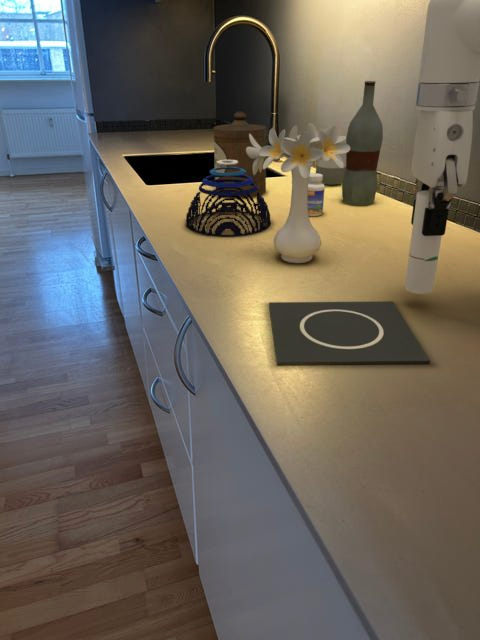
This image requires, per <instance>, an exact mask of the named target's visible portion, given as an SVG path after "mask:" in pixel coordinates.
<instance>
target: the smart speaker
mask: <svg viewBox="0 0 480 640" xmlns="http://www.w3.org/2000/svg"><path fill="white" fill-rule="evenodd" d="M346 137H347V136H346V135H338V139H337V141H336V142H335V143H334V144H336V143H339V142H344V143H346ZM336 155H339V156H340V157H341V158H342V160H343V163H344V167H343V168H340V167H338V166H337V165H336V164H335V162H334V161H333V160H331V159H329V160H328V161H324V160H323V158H322V159H321V160H316V167H315V173H318V174H322V175H323V180H322V181H321V183H323V184H324V186H325V187H338V186H340V185H341V186H342V184H343V179H344V175H345V170H346V153H344V154H336Z"/></svg>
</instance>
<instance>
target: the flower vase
mask: <svg viewBox="0 0 480 640" xmlns="http://www.w3.org/2000/svg"><path fill="white" fill-rule="evenodd" d="M298 129H299V128H298V125H294V126H292V128H291V130H290V132H289V134H288V137H285V136H286V129H285V128H284V129H282V130H281V132H280V133H279V134H278V135H277V132H276V130H275V128H270V130H269V133H268V142H269V144H270V145H266V146H264V147H262V148H261V147H260V146H259V144H258V143H257V142H256V141H255V139H254V138H253V137H252V135H251V134H249V138H250V141H251V144H252V145H253V146H254V147H256V148H254V147H247V148H246V153H247V155H248V156H249V157H250V158H257V159H256V160H255V161H254V163H253V174H254V175H255V174H256V172H257V170H258V168H259V171H260V173H261V170H262V165H263V169H266V170H267V168H268V167H269V166H270V165H271V164H272V163H273V162H275V161H277V160H280V159H282V158H285V160H284V161H282V164H281V166H280V171H281V172H282V173H288V172H290V173H291V196H290V206H289V213H288V216H287V219H286V221H285V223H284V224H283V225H282V226H281V227H280V228H279V229H278V231H277V232H276V233H275V235H274V237H273V246H274V249H275V250H276V251H277V252H278V253H279V254H280V258H281V259H282V261H284V262H287V263H291V264H304V263H308V262H310V261H312V259H313V255H315V254H317V252H319V250H320V249H321V246H322V238H321V236H320V233H319V232H318V230H317V229H316V228H315V226H313V224H312V223H311V222H312V221H311V220H310V216H308V180H309V175H310V173H311V169H312V167H313V166H312V165H314V163H315V162H317V160H321V159H322V158H323V160H324V161H328V160H329V159H331V160H333V161H334V162H335V164H336V165H337V166H338V167H340V168H343V167H344V163H343V160H342V158H341V157H340V156H339V155H336V154H344V153H347V152H349V151H350V146H349V145H348V144H347V143H344V142H339V143H336V144H334V143H335V142H336V141H337V139H338V136H339V128H338V125H335V124H334V125H332V127H327V128H325V129H324V130H317V128H316V126H315V125H314V124H313V123H311V122H310V123H308V124H307V125H306V130H307V131H305V130H304V131H303V132H302V133H301V134H298V131H299V130H298ZM265 157H266V160H265V162H264V164H263V161H264V158H265Z"/></svg>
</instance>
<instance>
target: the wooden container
mask: <svg viewBox="0 0 480 640" xmlns="http://www.w3.org/2000/svg"><path fill="white" fill-rule="evenodd" d="M233 118H234V120H233V121H232V123H231V124H230V123H229V124H220V125H215V126H214V127H213V145H214V146H213V148H214V149H213V150H214V151H213V153H214V155H213V156H214V158H213V159H214V160H213V161H214V163H213V165H214V168H220V167H237V168H242V169H244V170H245V171H246V173H244V175H247V176H250V177H251V178H252V179H253V183H254V184H255V185H256V186H258V190H257V191H256V192H252V193H250V196H251V197H252V198H257V192H258V193H260V194H261V196H263V195H264V194H266V192H267V191H266V190H267V168H266V169H263V165H262V170H261V173H260V171H259V168H258V170H257V172H256V174H255V175H254V174H253V163H254V161H255V160H256V159H257V158H250V157H249V156H248V155H247V153H246V148H247V147H254V146H253V145H252V144H251V141H250V138H249V134H251V135H252V137H253V138H254V139H255V141H256V142H257V143H258V144H259V146H260V147H261V148H262V147H264V146H267V143H266V141H267V139H266V138H267V128H266V127H267V126H265V125H262V124H251V123H248V122H247V121H246V120H245V119H247V115H246V113H244V112H243V111H236V112H235V113H234V114H233ZM254 148H256V147H254ZM266 159H267V156H266V157H265V158H264V161H263V164H264V162H265V160H266ZM219 160H237V161H238V163H237V164H234V165H220V164H217V161H219ZM224 163H231V162H224ZM239 171H240V170H235V169H221V170H216V172H220V173H235V172H239ZM221 179H238V180H245V181H246V180H249V179H247V178H240V177H216V178H214V180H221ZM224 183H234V182H224ZM252 187H254V186H253V185H248V186H242V187H237V188H240V189H244V190H248V189H251V188H252ZM214 188H215V189H214V190H216V189H217V188H220V187H214ZM224 190H237V189H234V188H226V189H224ZM218 191H219V190H218ZM238 191H239V190H238ZM221 193H223V192H221ZM232 193H235V192H232ZM244 195H246V194H244ZM238 196H239V197H240V198H241V199H245V198H244V196H241V195H238ZM246 196H247V195H246ZM227 198H231V197H227ZM247 198H248V199H250V198H249V197H248V196H247Z"/></svg>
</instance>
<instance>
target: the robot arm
mask: <svg viewBox="0 0 480 640" xmlns="http://www.w3.org/2000/svg"><path fill="white" fill-rule="evenodd" d="M421 53H422V54H421V61H420V68H419V69H420V70H419V77H418V84H417V85H418V86H417V92H416V93H417V94H416V102H415V110H417V111H419V115H418V121H417V126H416V129H415V130H416V131H415V137H414V142H413V150H412V158H411V174H412V176H413V177H414V178H415V182H414V184H415V187H414V193H413V198H414V199H413V206H412V213H411V219H410V220H411V221H410V224H411V226H413V220H414V212H415V205H416V197H417V192H419V191H425V190H429V199H428V208H425V213H424V220H423V227H422V234H423V235H424V236H441V237H442V236H444V235H446V230H447V229H446V228H447V223H448V216H449V210H450V209H451V207H452V200H453V199H454V197H456V196H457V195H458V188H463V187H464V186H465V185H466V184H467V181H468V174H469V167H470V161H471V160H470V158H471V150H472V141H473V127H474V126H473V123H474V119H473V118H474V115H473V113H474V110H476V109H475V108H476V104H477V103H476V102H477V98H478V91H479V86H480V0H429V2H428V5H427V11H426V19H425V27H424V37H423V45H422V52H421ZM439 183H443V185H439ZM436 191H442V192H440V193H438V194H437V196H436V198H435V195H436Z"/></svg>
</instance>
